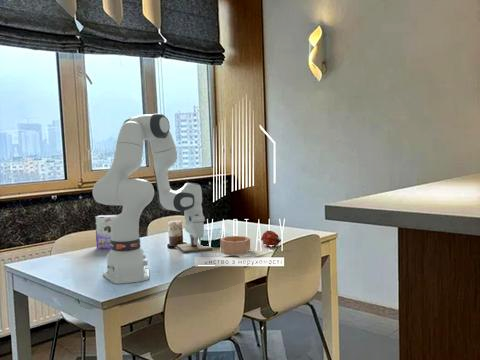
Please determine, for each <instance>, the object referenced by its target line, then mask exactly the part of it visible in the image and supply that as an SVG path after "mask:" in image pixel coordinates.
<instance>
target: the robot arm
mask: <svg viewBox="0 0 480 360" xmlns="http://www.w3.org/2000/svg"><path fill="white" fill-rule="evenodd" d="M145 141H149V146H150V150H151V154H152V157H153V158H152V159H153V165H152V166H153V174H154V178H155V186H156V190H157V193H156V194H157V195H156V201H157V204H158V207H159V208H160V209H161V210H163V211H174V212H183V215H184V221H185V222H184V230H185V232H186V233H188V234H189V240H191V238H194V241H193V244H194V245H197V244H198V243H199V239H200V238H203V237H204V234H205V233H204V231H205V225H204V222H205V221H206V219H205V218H206V217H205V216H204V213H203V206H202V203H203V192H202V187H201V185H200V184H199V183H195V182H186V183H184V185H183V186H182V187H181V188H179V189H177V190H173V189H172V188H171V186H170V180H169V179H170V178H169V173H168V172H169V169H170V168H171V167H173V166H174V165H175V164H176V162H177V161H178V151H177V148H176V145H175V140H174V138H173V136H172V133H171V131H170V121H169V119H168V117H166V116H165V114H163V113H153V114H151V113H150V114H141V115H137V116H132V117H129V118H127V119H125V120H124V122H123V124H121V127H120V129H119V132H118V135H117V140H116V144H115V151H114V156H113V160H112V164H111V166H110V168H109V169H108V171H107V172H106V174H105V175H104V176H102V177H101V178H99V179H98V180H97V181H96V182H95V183H94V185H93V188H92V191H91V192H92V198H93V199H94V201H95V202H96V203H98V204H101V205H105V206H122V209H121V213H119V214H116V215H117V216H115V217H114V218H113V219H112V221H111V240H110V248H111V249H110V251H109V252H108V253H107V254H106V271H103V272H102V276H103V277H105V278H106V279H108V281H110V282H111V283H112V284H117V285H118V284H131V283H140V282H144V281H148V280H150V267H149V266H148V259H146V257H147V256H146V254H144V250H143V249H142V248H141V247H142V246H141V239H140V233H139V227H140V217H141V215H142V213H143V211H144V210H145V208H146V207H147V206H148V205H149V204H150V203H151V202H153V199H154V196H155V189H154V185H153V184H152V183H151V181H150V180H146V179H142V178H129V177H130V175H132V173H134V172H136V171H138V170H139V169H140V167H141V166H142V162H143V161H142V160H143V151H144V142H145Z"/></svg>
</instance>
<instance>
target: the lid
mask: <svg viewBox="0 0 480 360" xmlns="http://www.w3.org/2000/svg"><path fill="white" fill-rule="evenodd" d="M193 241H194V238H191V239H190V243H181V244H177V245H176V247H177V248H179V249H180V250H181V251H182V252H183V253H189V254H193V253H192V252H198V253H202V252H201V251H207V252H211V251H210V250H212V249H213V247H212V246H210V245H209V246H203V245H200V244H199V242H198V244H197V245H194V244H193Z"/></svg>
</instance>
